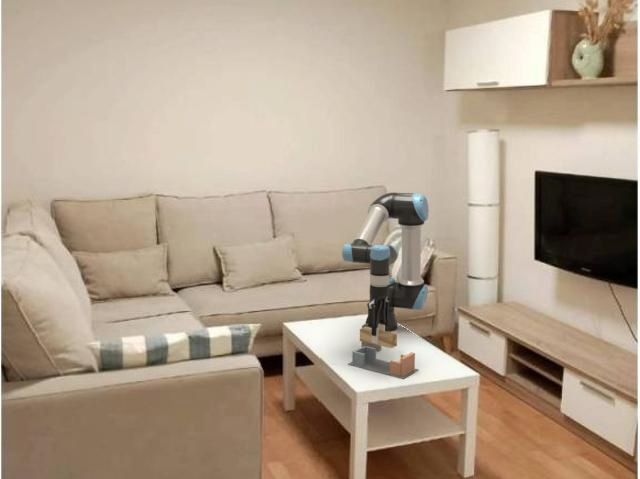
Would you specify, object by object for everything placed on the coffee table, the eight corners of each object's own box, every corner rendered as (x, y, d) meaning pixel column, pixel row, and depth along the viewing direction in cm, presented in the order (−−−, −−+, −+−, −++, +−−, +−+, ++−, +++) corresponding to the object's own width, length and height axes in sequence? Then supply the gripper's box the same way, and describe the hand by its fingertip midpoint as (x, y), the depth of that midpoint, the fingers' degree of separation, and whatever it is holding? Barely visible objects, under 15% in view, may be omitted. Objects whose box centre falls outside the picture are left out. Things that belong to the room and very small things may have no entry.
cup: (379, 352, 313) (379, 330, 311) (360, 351, 315) (360, 328, 313) (381, 346, 321) (382, 324, 319) (363, 345, 323) (363, 323, 321)
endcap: (401, 366, 296) (402, 349, 295) (415, 369, 293) (415, 352, 291) (389, 373, 289) (390, 356, 287) (402, 376, 285) (403, 359, 284)
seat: (364, 356, 308) (364, 344, 307) (418, 370, 293) (419, 357, 292) (347, 364, 299) (347, 352, 298) (403, 379, 284) (403, 365, 283)
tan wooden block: (365, 338, 302) (365, 326, 301) (396, 345, 293) (397, 333, 292) (359, 341, 298) (359, 329, 297) (391, 348, 290) (391, 336, 289)
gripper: (382, 279, 300) (381, 334, 304) (359, 287, 287) (358, 345, 291) (398, 282, 296) (397, 338, 300) (375, 290, 282) (374, 349, 287)
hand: (378, 341), depth 295 cm, fingers closed on tan wooden block, 4 cm apart
